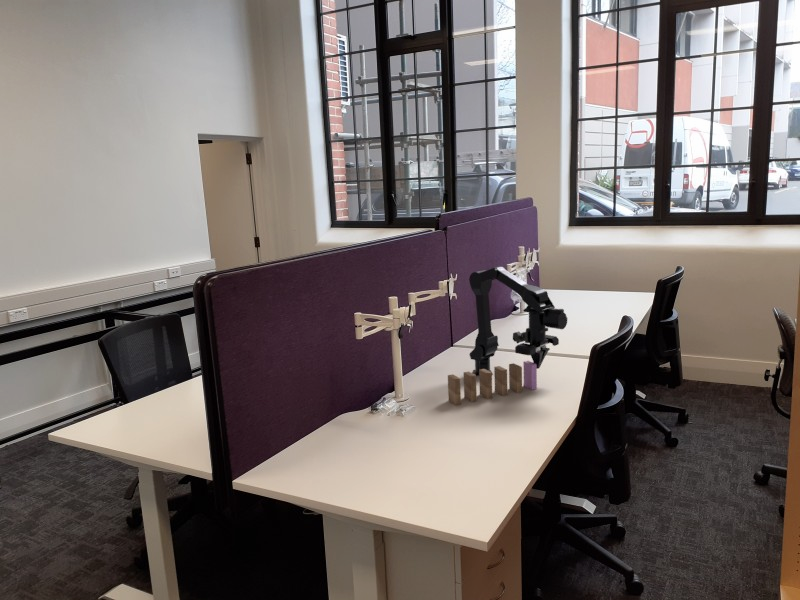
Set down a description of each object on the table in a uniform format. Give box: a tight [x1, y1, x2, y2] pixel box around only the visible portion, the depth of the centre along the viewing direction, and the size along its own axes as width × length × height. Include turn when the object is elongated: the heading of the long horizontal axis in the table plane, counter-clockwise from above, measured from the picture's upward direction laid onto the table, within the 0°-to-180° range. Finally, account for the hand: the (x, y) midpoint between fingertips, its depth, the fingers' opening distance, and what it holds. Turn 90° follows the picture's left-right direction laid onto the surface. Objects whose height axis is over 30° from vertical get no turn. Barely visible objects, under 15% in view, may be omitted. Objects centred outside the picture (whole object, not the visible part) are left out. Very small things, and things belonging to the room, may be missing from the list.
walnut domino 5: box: [508, 362, 523, 394], centre depth 213 cm, size 2×5×9 cm, turn 23°
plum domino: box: [523, 360, 538, 390], centre depth 215 cm, size 2×5×9 cm, turn 23°
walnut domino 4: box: [493, 365, 508, 397], centre depth 210 cm, size 2×5×9 cm, turn 23°
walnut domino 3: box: [478, 369, 493, 400], centre depth 208 cm, size 2×5×9 cm, turn 23°
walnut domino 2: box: [463, 371, 478, 403], centre depth 206 cm, size 2×5×9 cm, turn 23°
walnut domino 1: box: [447, 374, 462, 406], centre depth 204 cm, size 2×5×9 cm, turn 23°
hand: (537, 368), depth 216 cm, fingers closed
